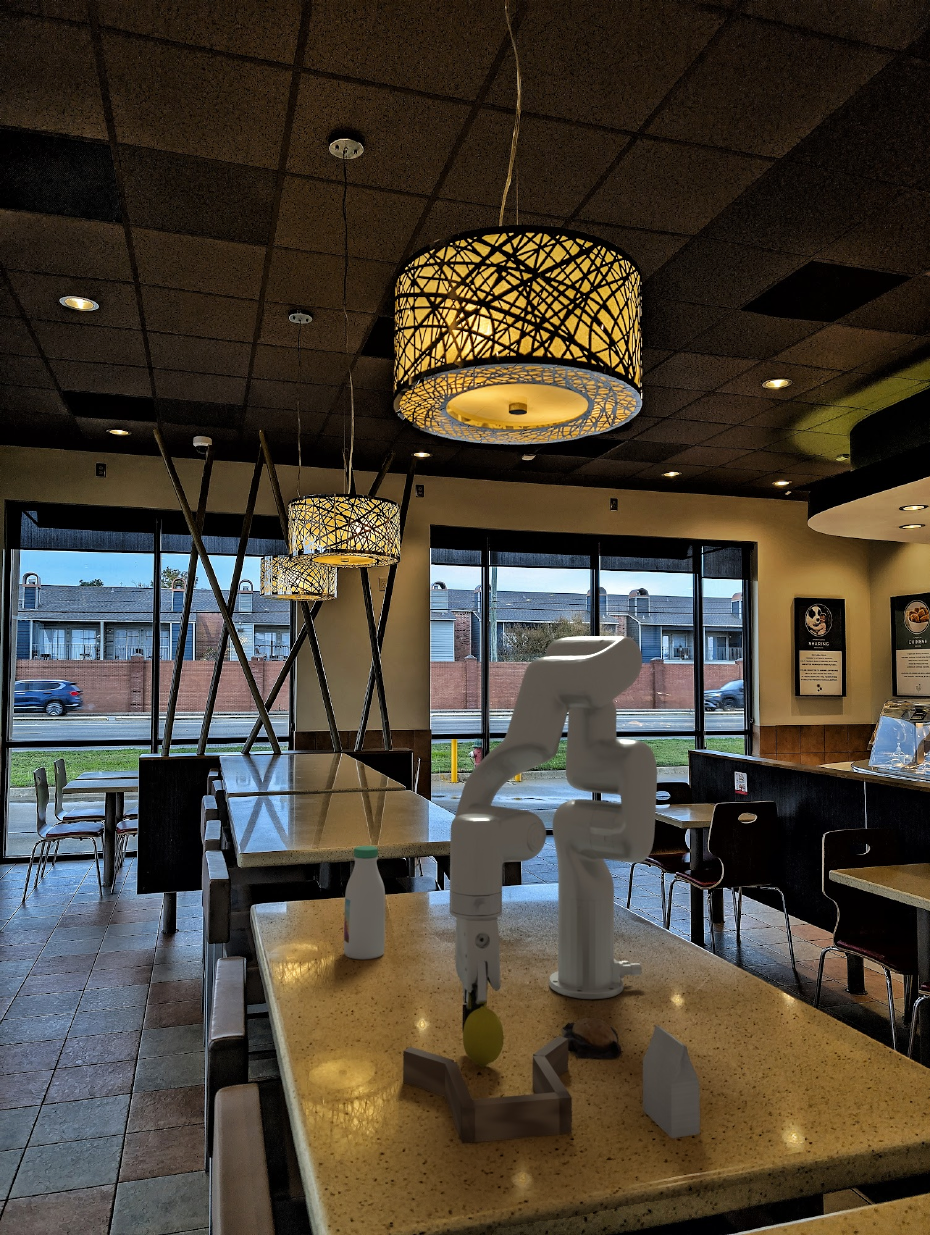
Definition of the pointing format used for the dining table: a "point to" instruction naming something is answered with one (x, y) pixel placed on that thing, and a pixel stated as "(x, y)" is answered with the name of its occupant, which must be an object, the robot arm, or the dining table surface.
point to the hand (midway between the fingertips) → (474, 1034)
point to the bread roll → (592, 1039)
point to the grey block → (670, 1086)
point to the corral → (498, 1114)
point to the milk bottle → (364, 907)
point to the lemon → (483, 1036)
